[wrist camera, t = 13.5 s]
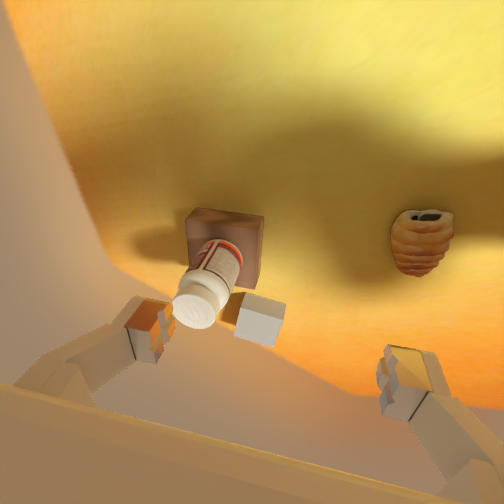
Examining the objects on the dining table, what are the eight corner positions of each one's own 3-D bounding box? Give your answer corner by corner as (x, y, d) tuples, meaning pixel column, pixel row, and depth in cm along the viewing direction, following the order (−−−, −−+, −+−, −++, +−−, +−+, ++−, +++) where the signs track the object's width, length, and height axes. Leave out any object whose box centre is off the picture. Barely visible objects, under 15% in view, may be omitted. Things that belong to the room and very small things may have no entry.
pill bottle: (204, 271, 44) (170, 328, 35) (199, 235, 41) (161, 287, 31) (244, 276, 43) (221, 336, 33) (243, 239, 39) (216, 295, 30)
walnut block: (263, 216, 41) (258, 230, 38) (259, 273, 47) (254, 289, 44) (196, 207, 43) (185, 219, 40) (199, 263, 48) (190, 278, 45)
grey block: (286, 303, 49) (283, 320, 46) (276, 330, 53) (272, 347, 50) (246, 291, 50) (240, 307, 47) (239, 318, 54) (233, 335, 51)
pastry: (438, 269, 40) (447, 287, 37) (384, 268, 42) (389, 285, 39) (452, 205, 36) (464, 219, 32) (391, 208, 37) (396, 221, 34)
